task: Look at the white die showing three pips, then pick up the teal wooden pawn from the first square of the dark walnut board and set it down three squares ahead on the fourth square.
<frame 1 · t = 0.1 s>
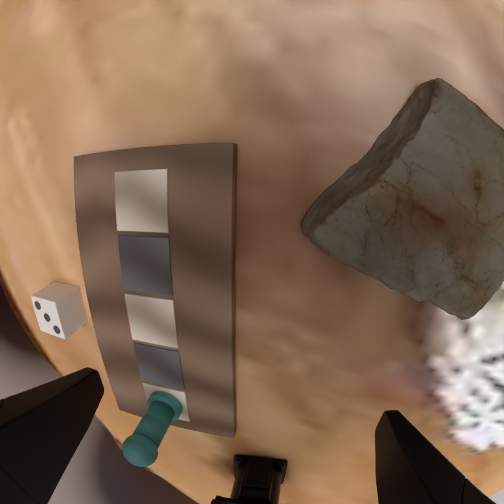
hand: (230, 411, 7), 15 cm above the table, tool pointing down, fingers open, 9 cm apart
marble piece: (433, 195, 19), on the table
board: (157, 314, 24), on the table
die: (70, 301, 26), on the table
pawn: (166, 403, 26), point 1 cm above the table, touching board
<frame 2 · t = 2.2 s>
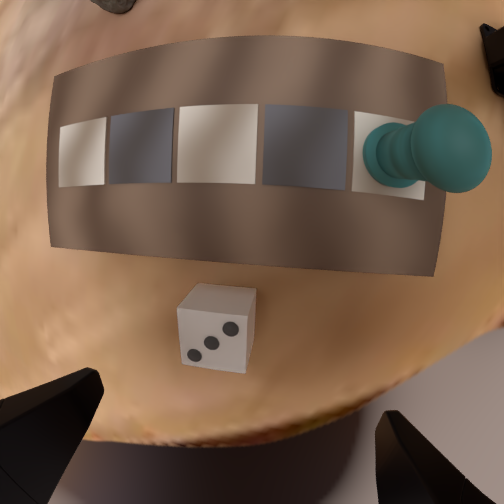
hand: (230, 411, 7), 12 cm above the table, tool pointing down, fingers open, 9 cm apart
board: (221, 145, 17), on the table
die: (226, 311, 20), on the table
pawn: (392, 155, 14), point 1 cm above the table, touching board
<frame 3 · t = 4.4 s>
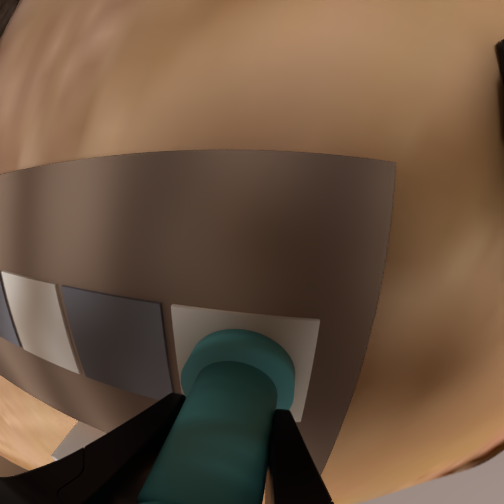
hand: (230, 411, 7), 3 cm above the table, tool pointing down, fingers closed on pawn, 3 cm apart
board: (52, 311, 12), on the table
die: (110, 445, 15), on the table
pawn: (241, 373, 9), point 1 cm above the table, touching board, gripper
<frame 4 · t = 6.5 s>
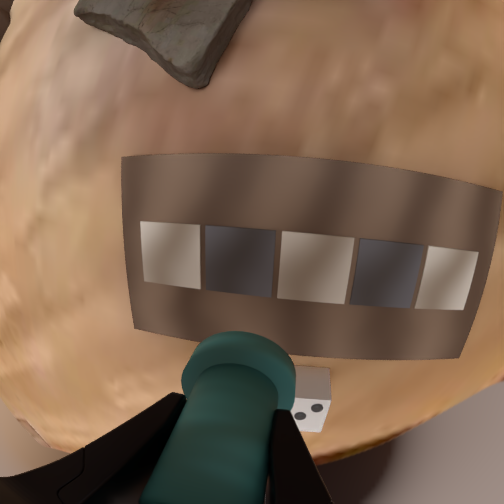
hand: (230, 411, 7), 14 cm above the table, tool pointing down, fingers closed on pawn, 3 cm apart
board: (314, 262, 20), on the table
die: (302, 382, 23), on the table
pawn: (242, 375, 9), point 12 cm above the table, touching gripper
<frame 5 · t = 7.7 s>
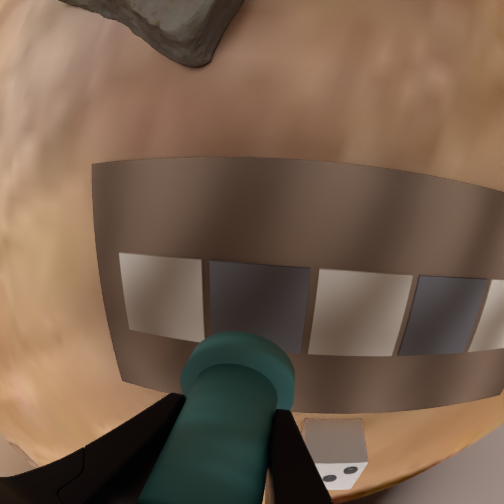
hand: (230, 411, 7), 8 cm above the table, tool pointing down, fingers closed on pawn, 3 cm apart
board: (355, 305, 14), on the table
die: (328, 435, 17), on the table
pawn: (241, 375, 9), point 6 cm above the table, touching gripper
when the fingers open (4 cm above the table, at t = 8.5 s): pawn drops 1 cm, resting on board.
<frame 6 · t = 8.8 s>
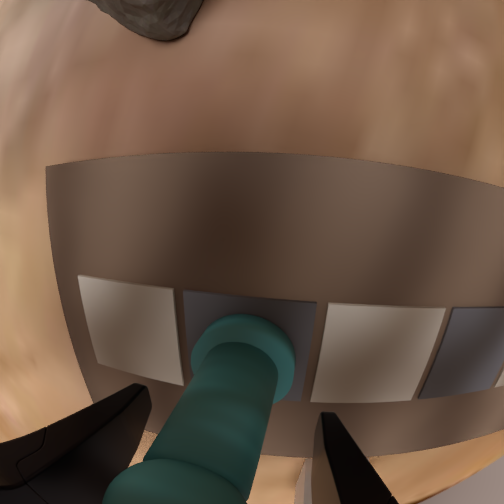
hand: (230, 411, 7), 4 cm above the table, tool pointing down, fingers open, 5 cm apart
board: (370, 342, 11), on the table
die: (330, 472, 14), on the table
pawn: (246, 356, 10), point 1 cm above the table, touching board
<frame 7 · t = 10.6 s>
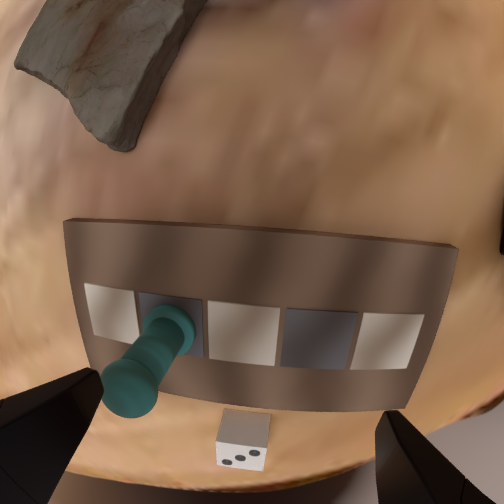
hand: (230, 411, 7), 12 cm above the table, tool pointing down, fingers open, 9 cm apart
marble piece: (113, 34, 16), on the table
board: (245, 325, 20), on the table
die: (246, 424, 23), on the table
pawn: (171, 327, 19), point 1 cm above the table, touching board
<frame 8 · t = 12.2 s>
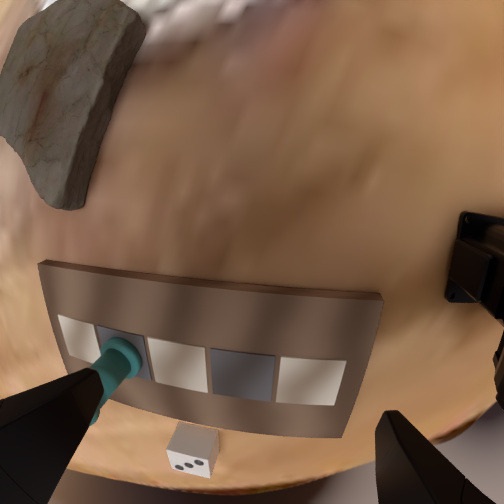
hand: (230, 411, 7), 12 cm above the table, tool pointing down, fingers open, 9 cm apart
marble piece: (63, 92, 18), on the table
board: (183, 357, 22), on the table
die: (200, 436, 25), on the table
pawn: (123, 355, 21), point 1 cm above the table, touching board
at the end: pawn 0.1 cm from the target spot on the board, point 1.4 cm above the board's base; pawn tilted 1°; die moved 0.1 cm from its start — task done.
